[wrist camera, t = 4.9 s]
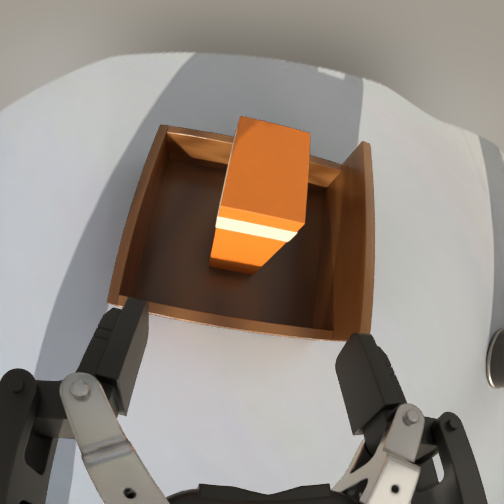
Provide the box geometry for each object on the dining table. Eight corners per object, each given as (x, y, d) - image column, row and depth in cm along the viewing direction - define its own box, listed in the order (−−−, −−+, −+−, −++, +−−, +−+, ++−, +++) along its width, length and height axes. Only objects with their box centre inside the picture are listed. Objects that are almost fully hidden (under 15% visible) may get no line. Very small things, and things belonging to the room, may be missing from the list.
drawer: (328, 189, 30) (370, 143, 22) (316, 340, 26) (369, 342, 17) (164, 154, 28) (156, 93, 19) (123, 308, 23) (87, 296, 15)
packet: (262, 216, 27) (311, 132, 15) (254, 275, 26) (306, 225, 13) (219, 207, 27) (239, 114, 15) (207, 267, 25) (218, 207, 13)
